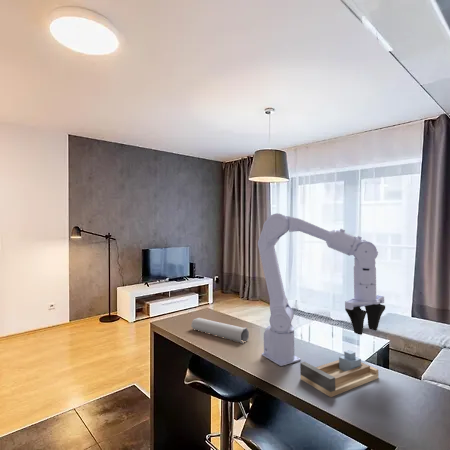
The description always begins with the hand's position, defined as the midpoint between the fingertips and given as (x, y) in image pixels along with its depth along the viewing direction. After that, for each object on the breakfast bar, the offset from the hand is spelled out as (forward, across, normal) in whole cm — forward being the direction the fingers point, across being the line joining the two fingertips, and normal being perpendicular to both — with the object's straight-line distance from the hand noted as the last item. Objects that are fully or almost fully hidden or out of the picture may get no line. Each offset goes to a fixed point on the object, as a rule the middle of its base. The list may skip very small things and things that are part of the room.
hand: (365, 331), depth 85 cm
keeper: (+9, -7, 0) cm, 11 cm away
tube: (+11, -23, +46) cm, 52 cm away
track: (+10, -11, 0) cm, 15 cm away
